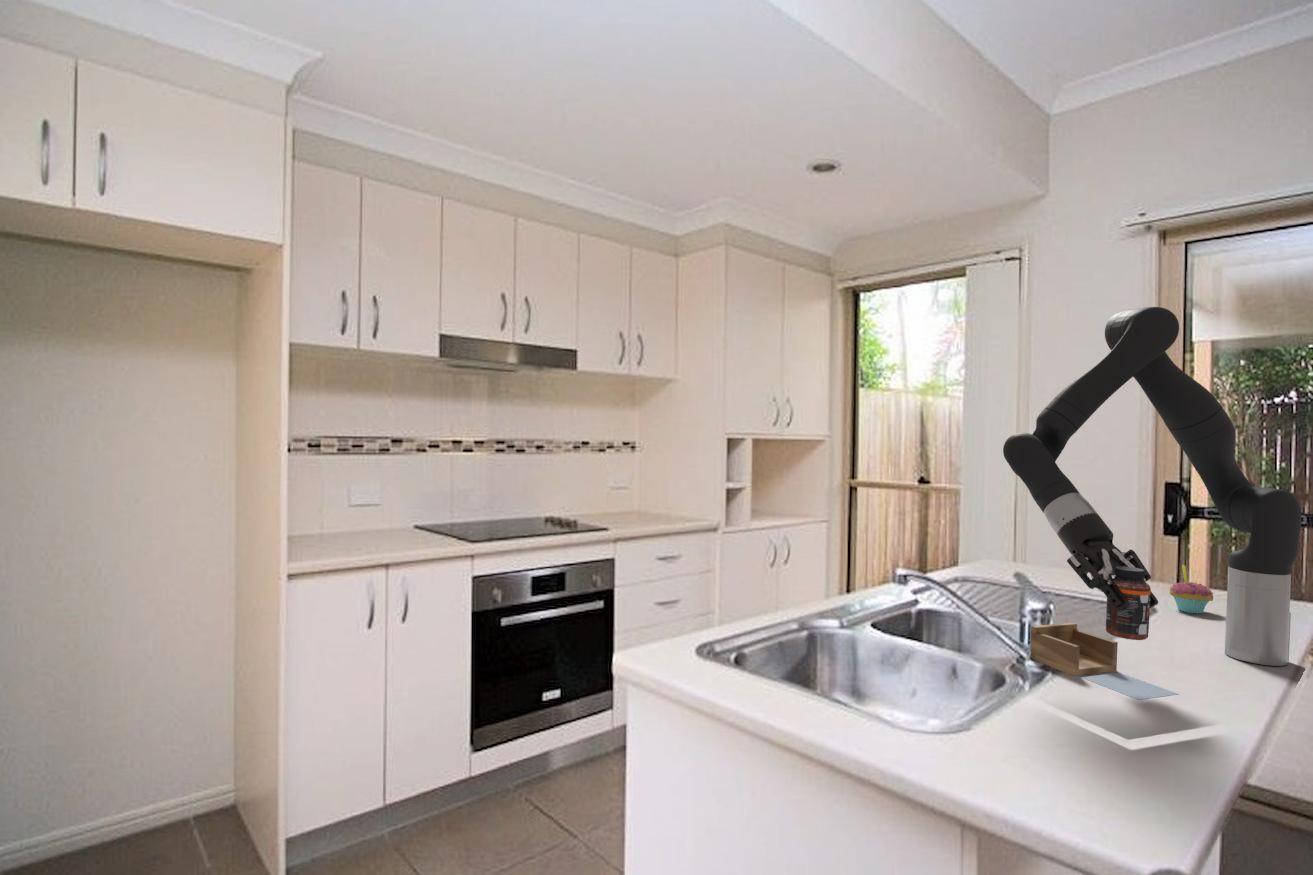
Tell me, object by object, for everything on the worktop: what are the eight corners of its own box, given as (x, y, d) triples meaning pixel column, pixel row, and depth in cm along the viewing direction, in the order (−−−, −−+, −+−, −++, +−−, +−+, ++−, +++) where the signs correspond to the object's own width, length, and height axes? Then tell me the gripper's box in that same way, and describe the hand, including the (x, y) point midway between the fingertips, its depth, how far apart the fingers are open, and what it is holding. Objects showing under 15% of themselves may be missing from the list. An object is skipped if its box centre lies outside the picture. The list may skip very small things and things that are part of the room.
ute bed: (1070, 659, 130) (1072, 622, 130) (1116, 675, 122) (1117, 636, 122) (1030, 663, 127) (1031, 626, 127) (1073, 681, 119) (1075, 640, 119)
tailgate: (1119, 672, 121) (1178, 693, 111) (1119, 678, 121) (1178, 700, 111) (1081, 677, 118) (1138, 699, 109) (1080, 682, 118) (1138, 705, 109)
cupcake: (1180, 614, 166) (1182, 564, 166) (1161, 605, 175) (1163, 558, 175) (1220, 617, 165) (1222, 567, 165) (1199, 608, 173) (1201, 560, 173)
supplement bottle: (1155, 643, 112) (1159, 573, 111) (1114, 639, 113) (1118, 570, 113) (1137, 632, 117) (1141, 566, 117) (1099, 628, 119) (1102, 563, 118)
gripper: (1060, 511, 119) (1123, 597, 108) (1121, 511, 124) (1187, 593, 113) (1033, 537, 124) (1091, 621, 114) (1092, 535, 129) (1153, 616, 118)
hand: (1138, 606), depth 113 cm, fingers closed on supplement bottle, 6 cm apart
